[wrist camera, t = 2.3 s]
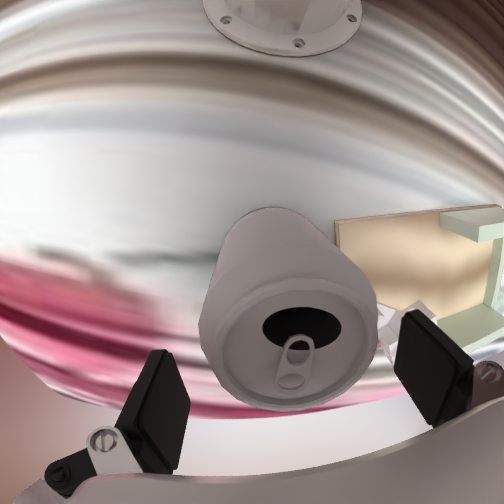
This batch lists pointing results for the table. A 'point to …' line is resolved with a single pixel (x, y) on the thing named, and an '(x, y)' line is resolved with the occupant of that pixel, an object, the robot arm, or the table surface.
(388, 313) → the clip
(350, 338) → the can
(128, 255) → the table surface
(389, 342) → the clip
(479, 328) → the bracket
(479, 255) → the board
